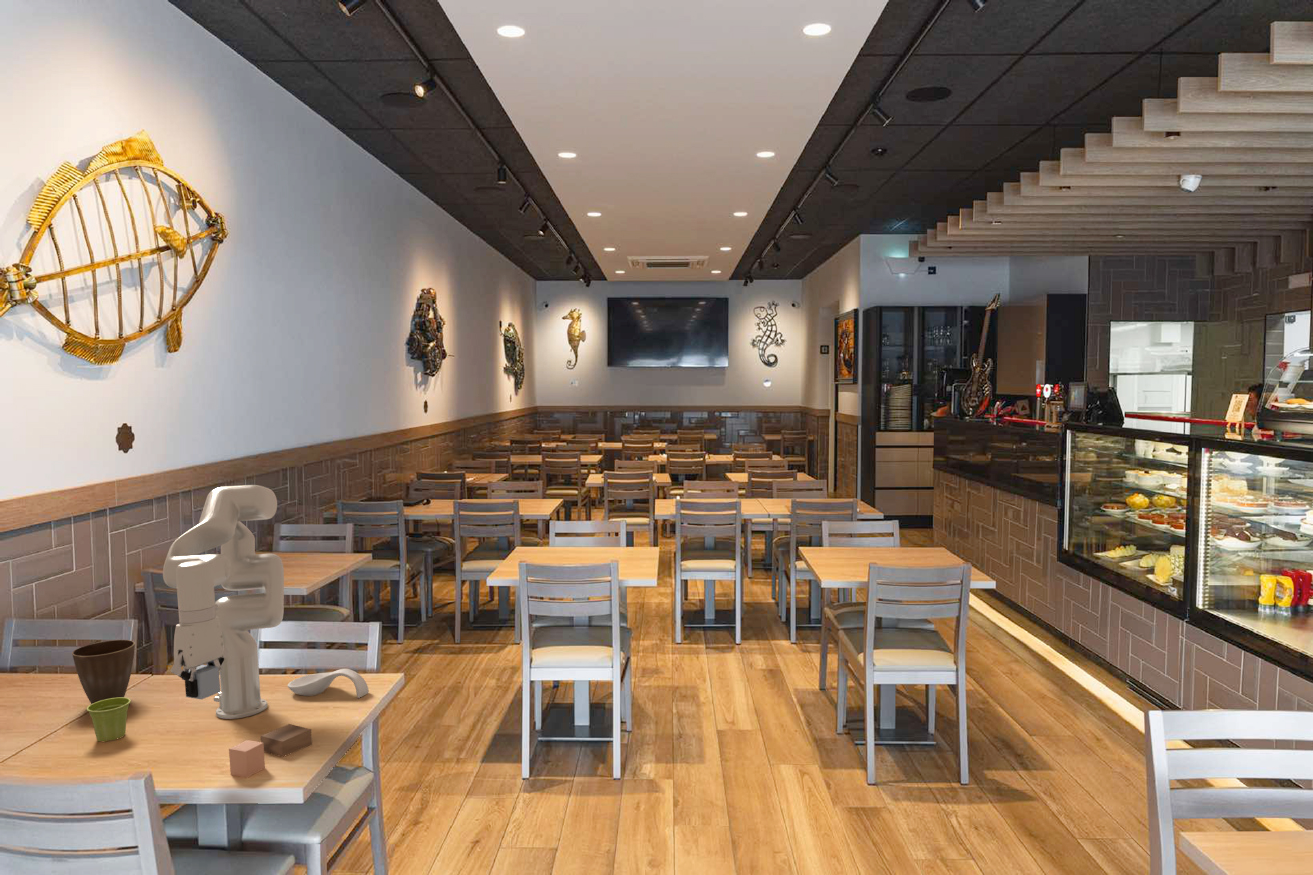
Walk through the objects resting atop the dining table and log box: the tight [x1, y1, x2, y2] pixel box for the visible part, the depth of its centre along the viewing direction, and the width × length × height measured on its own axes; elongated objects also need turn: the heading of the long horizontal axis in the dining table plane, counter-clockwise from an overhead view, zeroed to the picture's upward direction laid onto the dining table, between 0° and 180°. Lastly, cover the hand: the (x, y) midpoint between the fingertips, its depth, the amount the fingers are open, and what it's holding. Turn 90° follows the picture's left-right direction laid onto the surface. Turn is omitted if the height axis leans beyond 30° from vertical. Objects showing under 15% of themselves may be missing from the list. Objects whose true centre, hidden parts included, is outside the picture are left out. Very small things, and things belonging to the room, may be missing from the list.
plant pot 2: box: [86, 696, 132, 742], centre depth 218 cm, size 9×9×9 cm
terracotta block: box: [228, 739, 266, 779], centre depth 195 cm, size 5×5×6 cm
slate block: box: [185, 664, 221, 700], centre depth 199 cm, size 5×5×6 cm
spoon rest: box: [287, 668, 370, 699], centre depth 245 cm, size 24×12×7 cm, turn 75°
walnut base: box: [260, 723, 313, 758], centre depth 208 cm, size 8×8×4 cm
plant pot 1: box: [71, 639, 136, 705], centre depth 243 cm, size 15×15×16 cm
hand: (203, 691), depth 199 cm, fingers closed on slate block, 5 cm apart
